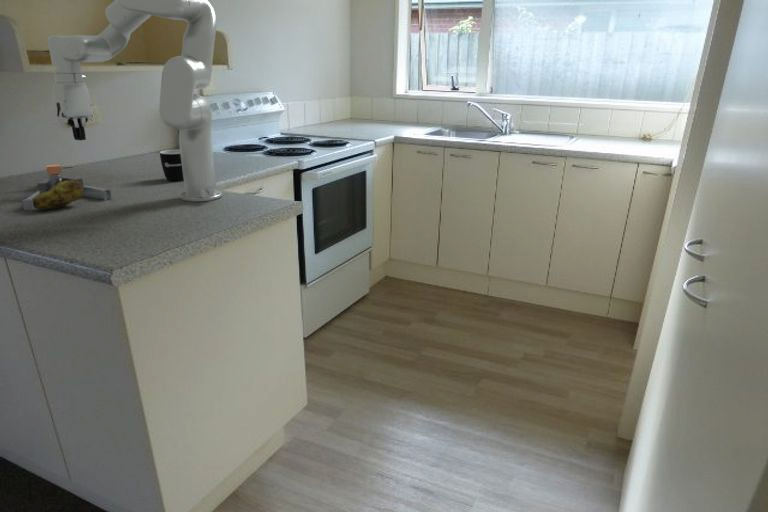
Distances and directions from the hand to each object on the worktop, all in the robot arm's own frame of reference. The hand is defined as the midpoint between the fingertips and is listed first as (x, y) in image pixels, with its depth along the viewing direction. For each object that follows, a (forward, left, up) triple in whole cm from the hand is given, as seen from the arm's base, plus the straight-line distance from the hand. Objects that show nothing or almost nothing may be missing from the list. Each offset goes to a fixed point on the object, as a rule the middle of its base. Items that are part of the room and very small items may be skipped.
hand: (80, 139), depth 167 cm
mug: (+3, -30, -17) cm, 34 cm away
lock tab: (+10, +9, -12) cm, 18 cm away
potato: (-19, +9, -17) cm, 27 cm away
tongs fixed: (-1, +13, -17) cm, 21 cm away
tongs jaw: (-6, +2, -17) cm, 18 cm away
